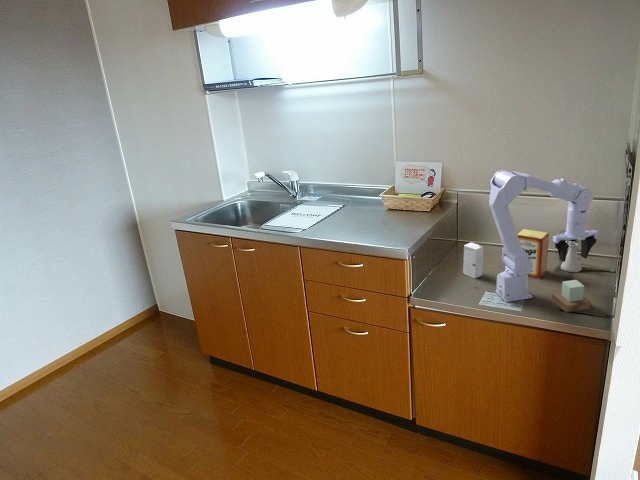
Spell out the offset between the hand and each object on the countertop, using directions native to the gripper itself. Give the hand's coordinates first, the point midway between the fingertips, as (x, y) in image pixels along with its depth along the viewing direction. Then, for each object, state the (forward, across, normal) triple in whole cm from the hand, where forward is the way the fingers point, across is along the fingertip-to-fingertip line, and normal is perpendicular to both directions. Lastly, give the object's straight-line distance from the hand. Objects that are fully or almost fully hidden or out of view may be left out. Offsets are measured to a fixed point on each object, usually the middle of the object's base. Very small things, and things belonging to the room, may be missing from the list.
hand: (573, 258), depth 157 cm
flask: (+11, +8, +12) cm, 18 cm away
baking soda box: (+11, -7, +14) cm, 19 cm away
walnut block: (+11, -7, -11) cm, 17 cm away
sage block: (+8, -7, -11) cm, 15 cm away
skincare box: (+11, -27, +19) cm, 35 cm away
